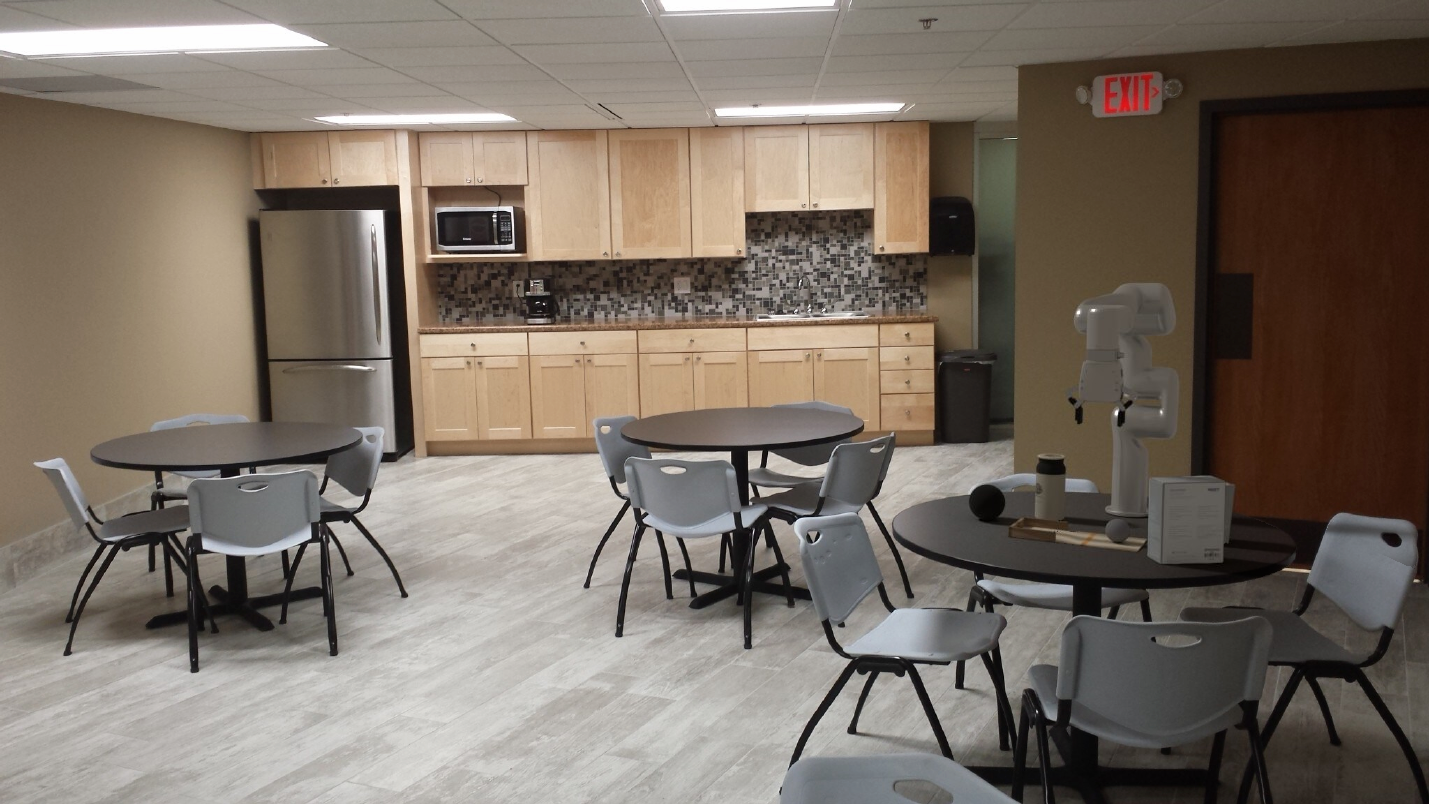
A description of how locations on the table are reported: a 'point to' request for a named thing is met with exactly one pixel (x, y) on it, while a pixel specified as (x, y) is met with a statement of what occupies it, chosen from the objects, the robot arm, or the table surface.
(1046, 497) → the travel mug
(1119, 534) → the rubber ball
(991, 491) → the decorative ball
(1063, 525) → the mat
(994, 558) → the table surface
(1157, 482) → the hard drive box
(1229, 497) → the skincare box
